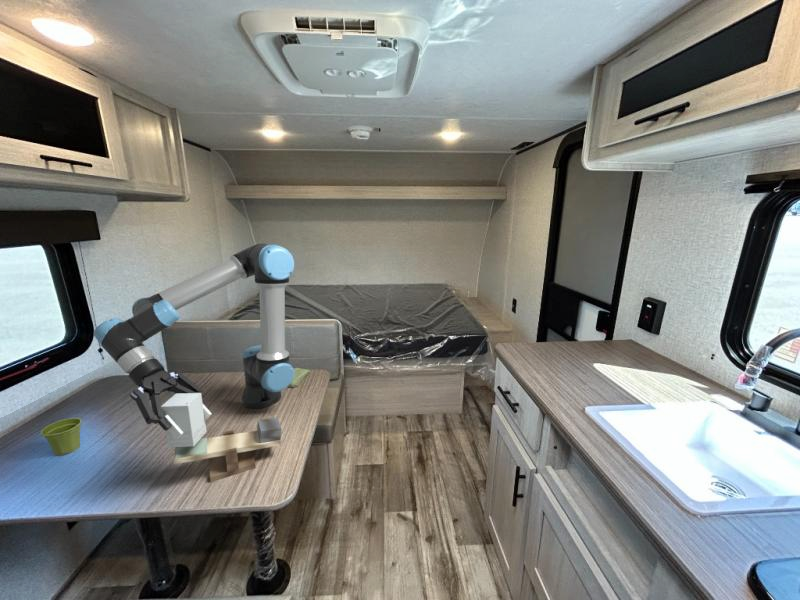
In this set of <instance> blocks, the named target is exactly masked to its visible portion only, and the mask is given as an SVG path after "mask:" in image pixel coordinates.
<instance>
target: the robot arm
mask: <svg viewBox="0 0 800 600" xmlns="http://www.w3.org/2000/svg"><path fill="white" fill-rule="evenodd" d="M229 258H230V259H228V260H227V261H224V262H222V263H220V264H217V265H216V266H213V267H211V268H209V269H207V270H204V271H203V272H201V273H199V274H196V275H194V276H192V277H190V278H188V279H185V280H184V281H181V282H179V283H176V284H174V285H173V286H170V287H168V288H166V289H164V290H161V291H160V292H157V293H156V294H154V295H153V294H152V295H151V296H147V297H141V298H139V299H136V300H135V301H134V303H133V304H132V307H131V312H132V317H130V318H128V319H126V320H123V319H121V318H120V317H119V318H118V317H113V318H109V320H105V321H103V322H101V323H100V324H99V325H97V326H96V327H95V329H94V331H93V336H94V338H95V340H97V342H98V343H99V344H100V346H101V347H102V348H103V350H105V351H106V353H107V354H108V355H109V356H110V357H111V358H112V360H114V361H115V362H116V363H117V365H118V366H119V367H120V368H121V369H122V370H123V372H125V374H127V375H128V377H129V379H130V380H131V381H132V382H133V384H135V386H136V385H137V386H138V387H137V388H134V389H132V391H131V393H130V394H129V397H130V398H131V399H132V400H133V401H134V402H135V403H136V405H137V407H138V408H139V409H138V410H139V411H140V413H141V416H143V419H144V421H145V423H146V424H147V425H151V424H152V423H153V424H155V425H157V424H158V425H159V427H161V429H162V430H163V431H164V432H165V431H167V430H168V431H169V432H170V433H171V434H172V435H173V436H174V437H175V439H178V438H179V437H180V436H181V435H182V434H183V431H182V430H181V429H180V428H179V427H178V426H177V425H176V424H175V422H174V421H173V420H172V419H171V418H170V417H169V416H168V415H166V416H165V417H163V416H164V414H163V409H162V408H161V406H162V405H163V404H162V400H161V394H162V393H165V392H170V393H171V392H172V393H174V394H176V393H201V394H202V392H203V389H202V388H201V387H200V386H198V385H197V384H195V383H194V382H193V381H191V380H190V379H189V378H187V377H186V376H185V375H183V373H182V372H181V370H180V369H178V368H177V369H175V371H172V372H168V371H167V370H166V369H165V367H164V365H163V364H162V363H161V362H160V361H159V360H158V359H157V358H155V355H154V354H153V353H152V351H150V350H149V348H148V347H147V346H146V345H145V344H144V342H145V341H148V340H149V339H150V338H152V337H154V336H155V335H157V334H159V333H160V332H162V331H163V330H166V329H167V328H168V327H171V326H172V325H173V324H174V323H176V322H177V321H179V319H181V315H180V314H179V312H178V310H179V309H182V308H183V307H186V306H188V305H190V304H191V303H193V302H197V300H199V299H201V298H204V297H206V296H207V295H210V294H211V293H213V292H216V291H218V290H219V289H222V288H224V287H226V286H229V284H232V283H234V282H235V281H238V280H240V279H243V280H246V279H249V278H250V277H253V276H254V284H256V285H257V286H258V287H259V322H260V323H259V324H260V325H259V327H260V344H257V345H254V346H249V347H247V348H245V349H244V350H243V351H242V358H241V359H242V364H243V374H244V382H245V385H244V389H243V394H242V398H241V400H242V405H243V407H246V408H249V409H262V408H268V407H270V406H272V405H275V404H276V403H278V402H279V401H280V400H281V399H282V391H284V390H286V389H287V388H289V387H288V386H289V384H291V382H292V381H293V378H294V369H293V368H294V367H293V366H292V365H291V364H290V351H288V349H287V350H286V304H285V303H286V299H285V298H286V297H285V294H286V293H285V292H286V291H285V290H286V287H287V285H289V284H290V276H291V274H293V272H294V270H295V261H294V257H293V255H292V253H291V252H290V251H289V250H288V249H287V248H285V247H283V246H280V245H278V244H266V243H256V244H252V245H250V246H249V247H247V248H245V249H242V250H240V251H239V252H236V253H235V254H233V255H230V257H229ZM144 393H146V394H148V399H147V397H146V395H145V394H144ZM148 400H149V401H150V402H149V401H148ZM202 403H203V410H204V417H205V421H206V420H208V419H209V417H211V415H212V414H213V413H212V412H211V411H210V410H209V409H208V408H207V406H206V403H205V401H204V400H203V399H202ZM150 404H151V405H150Z"/></svg>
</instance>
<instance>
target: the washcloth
mask: <svg viewBox="0 0 800 600" xmlns="http://www.w3.org/2000/svg"><path fill="white" fill-rule="evenodd" d="M293 369H294V378H293V381H292V382H291V384H289V386H288V387H287V388H291V387H292V389H295V388H297V387H298V386H299V385H300V384H301V383H302V382H301V381H303V380H304V379H305V378H306V377H307V376H306V375H309V374H308V373H311V370H310V369H307V368H306V369H305V368H301V367H300V368H299V367H295V368H294V367H293ZM300 382H301V383H300ZM296 386H297V387H296Z"/></svg>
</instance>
